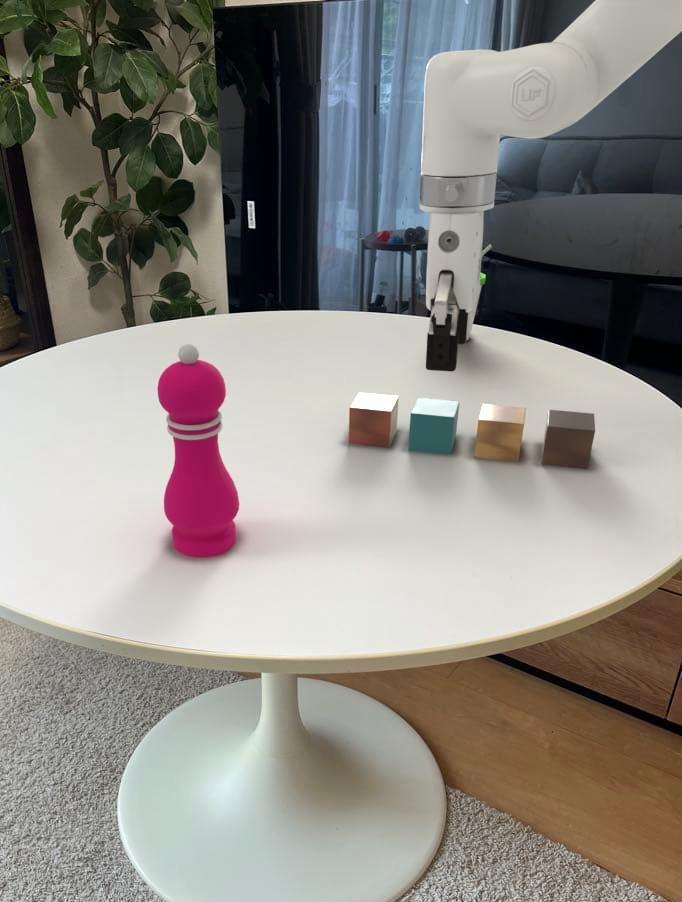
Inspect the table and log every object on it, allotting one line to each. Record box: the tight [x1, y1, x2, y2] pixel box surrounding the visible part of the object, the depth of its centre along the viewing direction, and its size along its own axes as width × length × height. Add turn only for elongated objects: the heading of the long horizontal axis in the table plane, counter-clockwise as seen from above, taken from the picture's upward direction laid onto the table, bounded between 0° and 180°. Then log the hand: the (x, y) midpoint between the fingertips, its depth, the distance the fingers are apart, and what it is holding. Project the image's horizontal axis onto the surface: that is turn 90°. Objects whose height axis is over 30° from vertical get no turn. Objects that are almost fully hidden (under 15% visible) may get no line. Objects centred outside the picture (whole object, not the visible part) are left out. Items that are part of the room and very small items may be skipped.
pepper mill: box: [157, 343, 240, 558], centre depth 73 cm, size 7×7×20 cm
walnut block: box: [540, 409, 596, 470], centre depth 90 cm, size 5×5×5 cm
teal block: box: [408, 397, 460, 455], centre depth 94 cm, size 5×5×5 cm
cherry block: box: [348, 392, 400, 449], centre depth 96 cm, size 5×5×5 cm
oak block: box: [473, 403, 527, 463], centre depth 92 cm, size 5×5×5 cm
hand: (446, 355), depth 89 cm, fingers open, 9 cm apart
